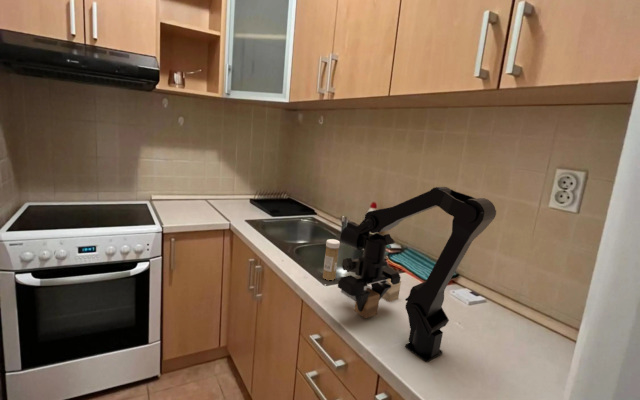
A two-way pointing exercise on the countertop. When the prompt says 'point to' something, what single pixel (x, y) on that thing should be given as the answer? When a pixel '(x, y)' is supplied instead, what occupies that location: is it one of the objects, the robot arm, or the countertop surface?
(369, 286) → the tile block
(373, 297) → the walnut block
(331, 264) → the sprinkles bottle
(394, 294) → the maple block
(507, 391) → the countertop surface
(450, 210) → the robot arm
